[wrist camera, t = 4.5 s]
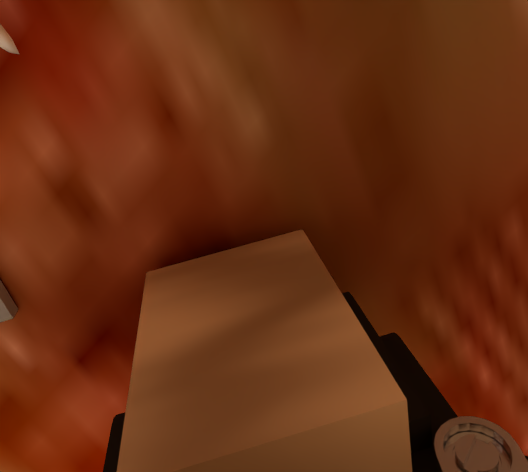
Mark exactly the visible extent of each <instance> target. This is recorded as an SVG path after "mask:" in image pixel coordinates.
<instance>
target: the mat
mask: <svg viewBox="0 0 528 472" xmlns="http://www.w3.org/2000/svg"><path fill="white" fill-rule="evenodd" d="M17 311H18V308H17V306H16V305H15V303H14V301H13V300H12V298H11V297H10V295H9V293H8V292H7V290H6V288H5V287H4V285H3V284H2V282H1V280H0V322H3V321H6V320H10V319H13V318H14V316H15V314H16V313H17Z"/></svg>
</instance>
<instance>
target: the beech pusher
mask: <svg viewBox="0 0 528 472" xmlns="http://www.w3.org/2000/svg"><path fill="white" fill-rule="evenodd" d="M117 472H412V460H411V447H410V434H409V421H408V408H407V399H406V397H405V396H404V394H403V393H402V391H401V389H400V388H399V386H398V384H397V383H396V381H395V379H394V378H393V376H392V375H391V373H390V371H389V370H388V368H387V366H386V365H385V363H384V361H383V360H382V358H381V357H380V355H379V353H378V352H377V350H376V348H375V347H374V345H373V344H372V342H371V340H370V339H369V337H368V335H367V334H366V332H365V330H364V329H363V327H362V326H361V324H360V322H359V321H358V319H357V317H356V316H355V314H354V312H353V311H352V309H351V308H350V306H349V304H348V303H347V301H346V299H345V298H344V296H343V294H342V293H341V291H340V290H339V288H338V286H337V285H336V283H335V281H334V280H333V278H332V277H331V275H330V273H329V272H328V270H327V268H326V267H325V265H324V263H323V262H322V260H321V259H320V257H319V255H318V254H317V252H316V250H315V249H314V247H313V245H312V244H311V242H310V241H309V239H308V237H307V236H306V234H305V232H304V231H303V229H301V230H297V231H294V232H290V233H287V234H283V235H279V236H276V237H272V238H269V239H265V240H261V241H258V242H254V243H250V244H247V245H243V246H240V247H236V248H232V249H229V250H225V251H222V252H218V253H214V254H211V255H207V256H203V257H200V258H196V259H193V260H189V261H185V262H182V263H178V264H174V265H171V266H167V267H164V268H160V269H156V270H153V271H149V272H146V278H145V285H144V292H143V299H142V305H141V312H140V319H139V325H138V332H137V339H136V345H135V352H134V359H133V366H132V372H131V379H130V386H129V392H128V399H127V406H126V412H125V419H124V426H123V433H122V439H121V446H120V453H119V459H118V466H117Z"/></svg>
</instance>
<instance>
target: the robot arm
mask: <svg viewBox="0 0 528 472" xmlns="http://www.w3.org/2000/svg"><path fill="white" fill-rule="evenodd" d="M342 294H343V296H344V298H345V299H346V301H347V303H348V304H349V306H350V308H351V309H352V311H353V312H354V314H355V316H356V317H357V319H358V321H359V322H360V324H361V326H362V327H363V329H364V330H365V332H366V334H367V335H368V337H369V339H370V340H371V342H372V344H373V345H374V347H375V348H376V350H377V352H378V353H379V355H380V357H381V358H382V360H383V361H384V363H385V365H386V366H387V368H388V370H389V371H390V373H391V375H392V376H393V378H394V379H395V381H396V383H397V384H398V386H399V388H400V389H401V391H402V393H403V394H404V396H405V397H406V399H407V408H408V421H409V434H410V447H411V460H412V472H528V456H525V455H524V454H523V452H522V451H521V449H520V447H519V446H518V444H517V443H516V442H515V440H514V439H513V438H512V436H511V435H510V434H509V433H508V432H506V431H505V430H504V429H502V428H501V427H500V426H499V425H497V424H495V423H492V422H490V421H488V420H486V419H482V418H478V417H473V416H460V417H458V416H457V415H456V414H455V412H454V411H453V409H452V408H451V407H450V405H449V404H448V403H447V401H446V400H445V398H444V397H443V396H442V394H441V393H440V392H439V390H438V389H437V387H436V386H435V385H434V383H433V382H432V381H431V379H430V378H429V377H428V375H427V374H426V372H425V371H424V370H423V368H422V367H421V366H420V364H419V363H418V361H417V360H416V359H415V357H414V356H413V355H412V353H411V352H410V351H409V349H408V348H407V346H406V345H405V344H404V342H403V341H402V340H401V338H400V337H399V336H398V335H397V334H396V333H390V334H387V335H384V336H380V337H379V336H378V334H377V333H376V331H375V330H374V328H373V327H372V325H371V324H370V322H369V321H368V319H367V318H366V316H365V315H364V313H363V312H362V310H361V309H360V307H359V305H358V304H357V302H356V301H355V299H354V298H353V296H352V295H351V294H350V292H345V293H342ZM124 419H125V413H122V414H118V415H116V416H115V417H114V419H113V423H112V427H111V432H110V437H109V443H108V448H107V453H106V458H105V464H104V469H103V472H117V466H118V459H119V453H120V446H121V439H122V433H123V426H124Z"/></svg>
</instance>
